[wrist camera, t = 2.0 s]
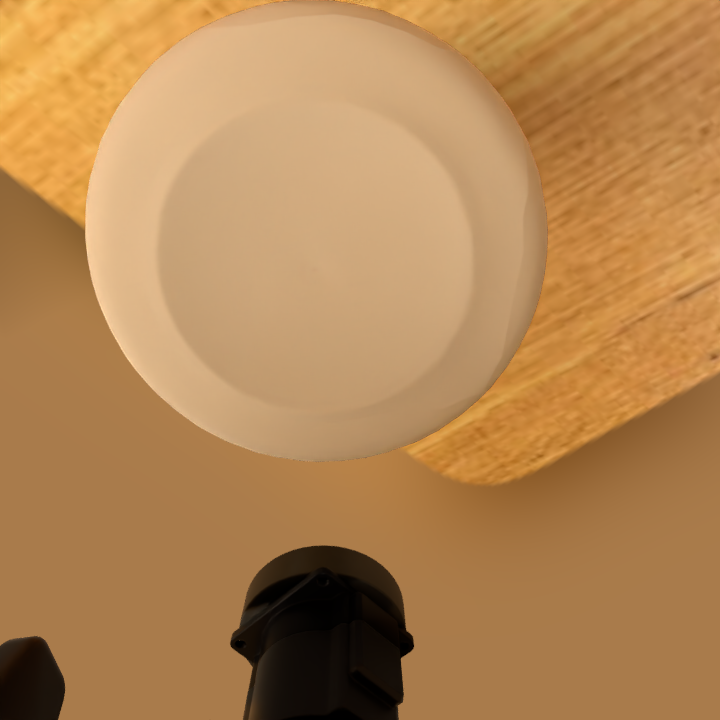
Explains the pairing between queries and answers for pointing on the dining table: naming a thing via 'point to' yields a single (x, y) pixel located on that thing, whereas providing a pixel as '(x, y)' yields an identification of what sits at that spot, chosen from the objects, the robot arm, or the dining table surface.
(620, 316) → the dining table surface
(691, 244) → the dining table surface
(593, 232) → the dining table surface
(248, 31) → the sprinkles bottle
